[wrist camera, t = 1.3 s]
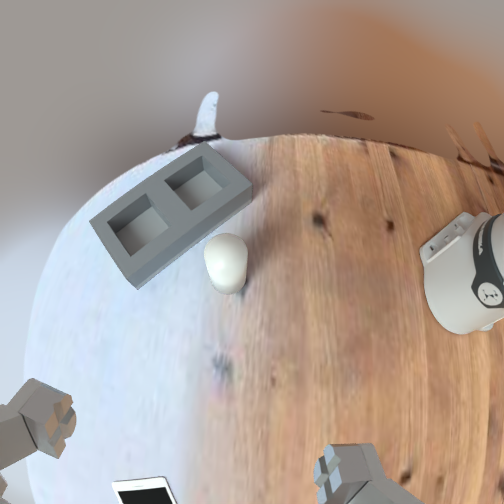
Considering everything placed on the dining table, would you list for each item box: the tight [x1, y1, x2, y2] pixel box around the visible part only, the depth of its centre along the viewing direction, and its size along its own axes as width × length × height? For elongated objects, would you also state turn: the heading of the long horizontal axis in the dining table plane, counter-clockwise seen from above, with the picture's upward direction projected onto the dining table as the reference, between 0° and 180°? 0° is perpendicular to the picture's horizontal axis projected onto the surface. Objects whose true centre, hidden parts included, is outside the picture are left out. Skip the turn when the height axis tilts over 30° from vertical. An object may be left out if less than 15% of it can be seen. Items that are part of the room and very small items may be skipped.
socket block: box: [89, 141, 253, 290], centre depth 40 cm, size 20×10×4 cm, turn 132°
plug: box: [204, 233, 248, 295], centre depth 35 cm, size 4×4×9 cm
